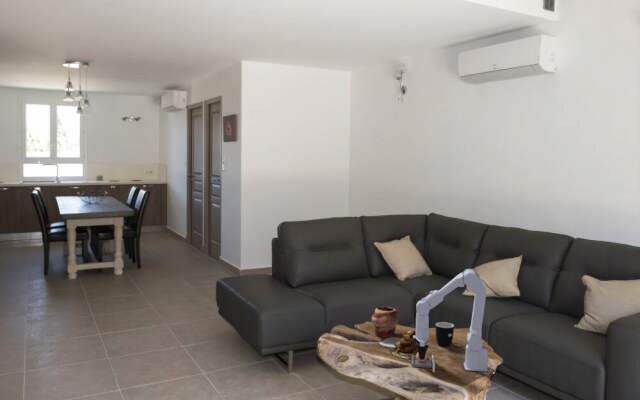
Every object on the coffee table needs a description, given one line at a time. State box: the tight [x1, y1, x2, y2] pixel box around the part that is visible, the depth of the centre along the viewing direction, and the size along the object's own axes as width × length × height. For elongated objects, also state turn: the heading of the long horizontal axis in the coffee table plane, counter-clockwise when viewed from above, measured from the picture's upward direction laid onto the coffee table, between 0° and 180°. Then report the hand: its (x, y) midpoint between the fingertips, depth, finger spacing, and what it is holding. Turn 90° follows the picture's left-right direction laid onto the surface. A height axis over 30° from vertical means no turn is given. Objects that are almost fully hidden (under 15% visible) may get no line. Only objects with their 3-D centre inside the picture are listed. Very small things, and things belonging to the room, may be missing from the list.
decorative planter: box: [371, 306, 400, 338], centre depth 287 cm, size 20×12×14 cm, turn 139°
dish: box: [411, 356, 432, 369], centre depth 248 cm, size 9×9×2 cm
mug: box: [435, 321, 455, 348], centre depth 273 cm, size 12×9×10 cm
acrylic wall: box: [431, 354, 436, 373], centre depth 244 cm, size 1×12×3 cm, turn 172°
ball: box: [416, 353, 428, 363], centre depth 247 cm, size 5×5×5 cm
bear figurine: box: [388, 329, 418, 360], centre depth 260 cm, size 14×15×12 cm
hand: (421, 356), depth 247 cm, fingers open, 7 cm apart
